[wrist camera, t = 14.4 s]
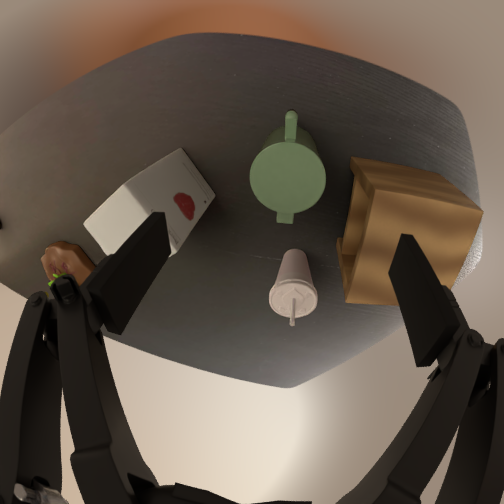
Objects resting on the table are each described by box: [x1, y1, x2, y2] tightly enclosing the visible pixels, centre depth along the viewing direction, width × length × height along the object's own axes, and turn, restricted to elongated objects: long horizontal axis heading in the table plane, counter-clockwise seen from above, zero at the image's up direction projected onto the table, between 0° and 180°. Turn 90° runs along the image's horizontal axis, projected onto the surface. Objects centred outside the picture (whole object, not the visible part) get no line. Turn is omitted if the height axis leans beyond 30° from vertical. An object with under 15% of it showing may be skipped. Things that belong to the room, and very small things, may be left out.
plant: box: [41, 241, 96, 297], centre depth 50 cm, size 20×20×11 cm
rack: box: [336, 156, 483, 306], centre depth 30 cm, size 14×14×12 cm
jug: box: [250, 109, 326, 224], centre depth 28 cm, size 10×7×12 cm, turn 179°
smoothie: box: [269, 249, 318, 326], centre depth 37 cm, size 6×6×14 cm
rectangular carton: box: [83, 148, 216, 257], centre depth 32 cm, size 9×9×15 cm
